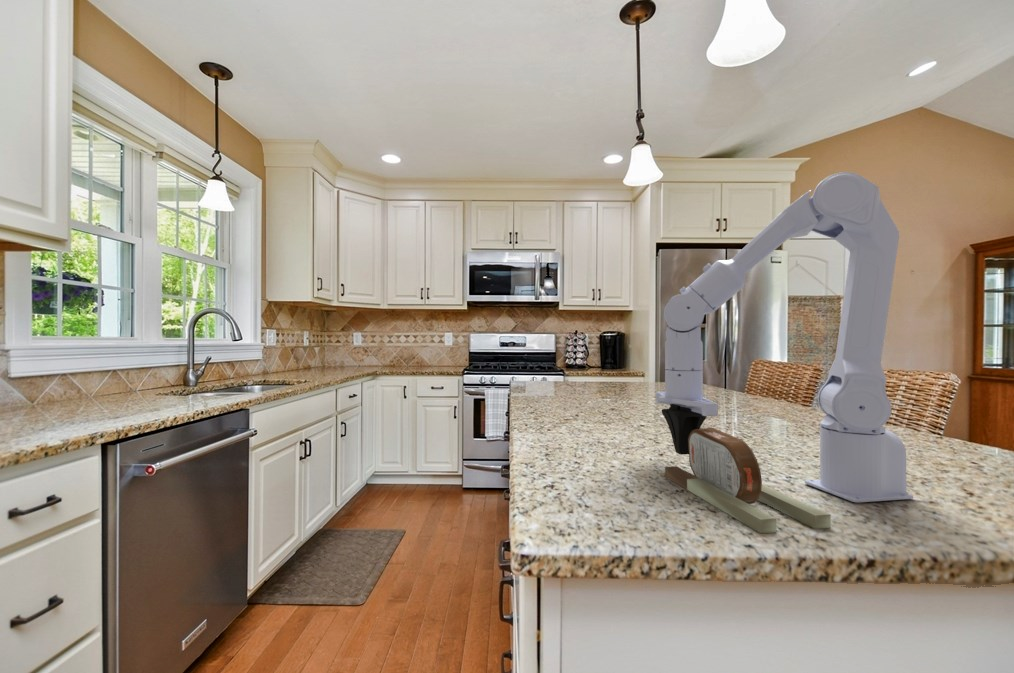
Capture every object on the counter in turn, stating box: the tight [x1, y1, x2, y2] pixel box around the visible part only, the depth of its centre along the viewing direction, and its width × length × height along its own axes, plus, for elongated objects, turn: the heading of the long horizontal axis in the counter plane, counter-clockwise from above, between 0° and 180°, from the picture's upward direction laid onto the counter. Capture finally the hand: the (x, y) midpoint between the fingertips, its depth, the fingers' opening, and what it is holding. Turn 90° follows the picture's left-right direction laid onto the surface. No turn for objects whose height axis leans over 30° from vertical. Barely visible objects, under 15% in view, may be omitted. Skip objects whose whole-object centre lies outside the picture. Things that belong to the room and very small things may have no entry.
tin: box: [688, 427, 763, 505], centre depth 60 cm, size 15×3×8 cm, turn 2°
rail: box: [664, 465, 832, 534], centre depth 58 cm, size 9×20×2 cm, turn 10°
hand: (683, 453), depth 70 cm, fingers closed
